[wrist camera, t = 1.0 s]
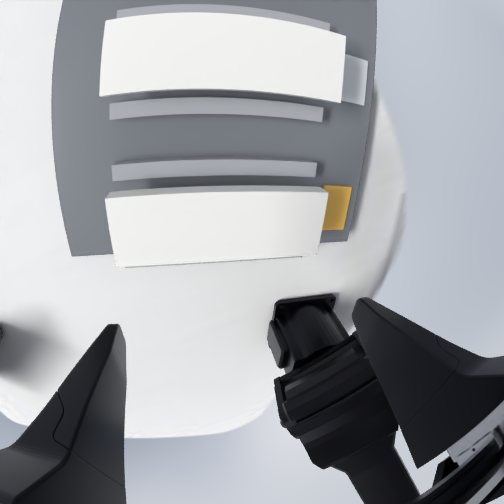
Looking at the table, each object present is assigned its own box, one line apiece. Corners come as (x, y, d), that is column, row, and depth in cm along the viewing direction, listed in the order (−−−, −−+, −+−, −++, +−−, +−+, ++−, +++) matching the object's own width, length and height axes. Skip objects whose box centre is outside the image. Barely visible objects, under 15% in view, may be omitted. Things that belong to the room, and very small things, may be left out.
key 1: (319, 186, 17) (328, 192, 16) (309, 246, 20) (317, 254, 18) (109, 192, 14) (104, 198, 13) (119, 257, 17) (116, 267, 16)
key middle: (335, 38, 12) (346, 36, 11) (331, 102, 15) (340, 103, 14) (110, 25, 9) (105, 20, 8) (105, 96, 12) (99, 96, 11)
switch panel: (364, -42, 11) (380, -50, 8) (337, 239, 24) (351, 253, 22) (91, -63, 6) (83, -76, 3) (79, 253, 19) (70, 270, 17)
